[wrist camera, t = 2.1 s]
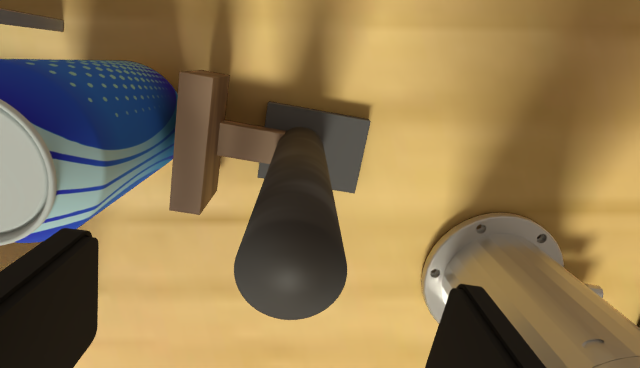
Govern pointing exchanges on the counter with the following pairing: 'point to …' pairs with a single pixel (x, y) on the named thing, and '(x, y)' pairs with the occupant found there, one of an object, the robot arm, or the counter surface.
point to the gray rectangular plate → (326, 139)
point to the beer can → (77, 140)
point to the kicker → (263, 200)
